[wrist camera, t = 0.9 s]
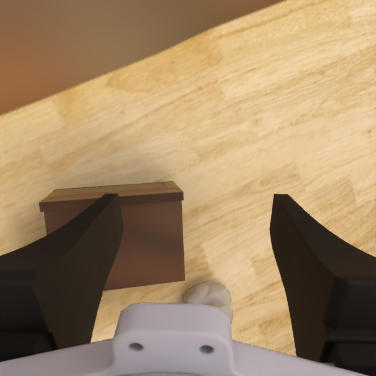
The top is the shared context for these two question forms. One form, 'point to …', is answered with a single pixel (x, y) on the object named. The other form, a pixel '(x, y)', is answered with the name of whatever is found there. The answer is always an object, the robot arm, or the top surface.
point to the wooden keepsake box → (132, 229)
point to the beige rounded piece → (211, 296)
